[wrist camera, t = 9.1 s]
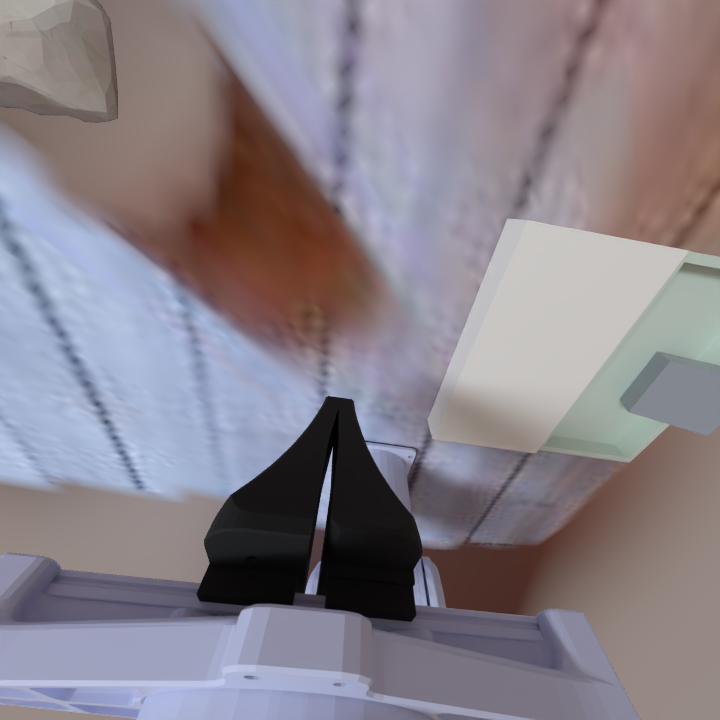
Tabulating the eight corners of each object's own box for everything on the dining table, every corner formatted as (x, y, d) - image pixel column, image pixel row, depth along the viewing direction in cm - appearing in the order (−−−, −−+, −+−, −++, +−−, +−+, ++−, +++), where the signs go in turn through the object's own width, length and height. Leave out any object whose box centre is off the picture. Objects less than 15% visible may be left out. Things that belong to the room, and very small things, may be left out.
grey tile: (628, 412, 22) (619, 399, 23) (707, 435, 20) (692, 420, 22) (670, 361, 19) (657, 351, 21) (764, 383, 18) (742, 370, 19)
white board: (521, 433, 26) (535, 453, 24) (427, 420, 26) (432, 439, 24) (649, 245, 17) (689, 250, 15) (507, 218, 17) (527, 220, 15)
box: (612, 446, 27) (629, 462, 25) (523, 433, 26) (534, 449, 25) (782, 270, 18) (826, 277, 16) (651, 245, 17) (683, 250, 16)
